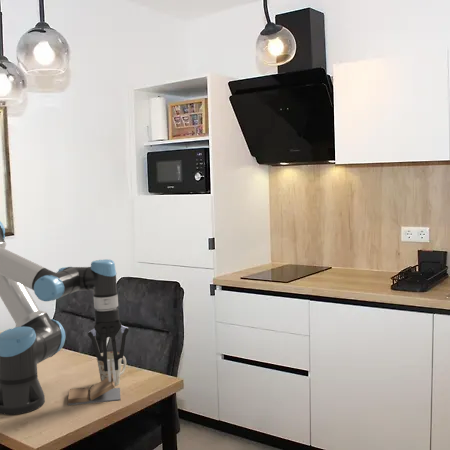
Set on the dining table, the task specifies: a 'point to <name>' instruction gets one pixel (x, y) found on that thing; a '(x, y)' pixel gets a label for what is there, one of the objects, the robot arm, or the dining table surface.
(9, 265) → the robot arm
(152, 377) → the dining table surface
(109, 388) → the plank
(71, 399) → the laid plank
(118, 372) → the mug
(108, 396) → the underlay
